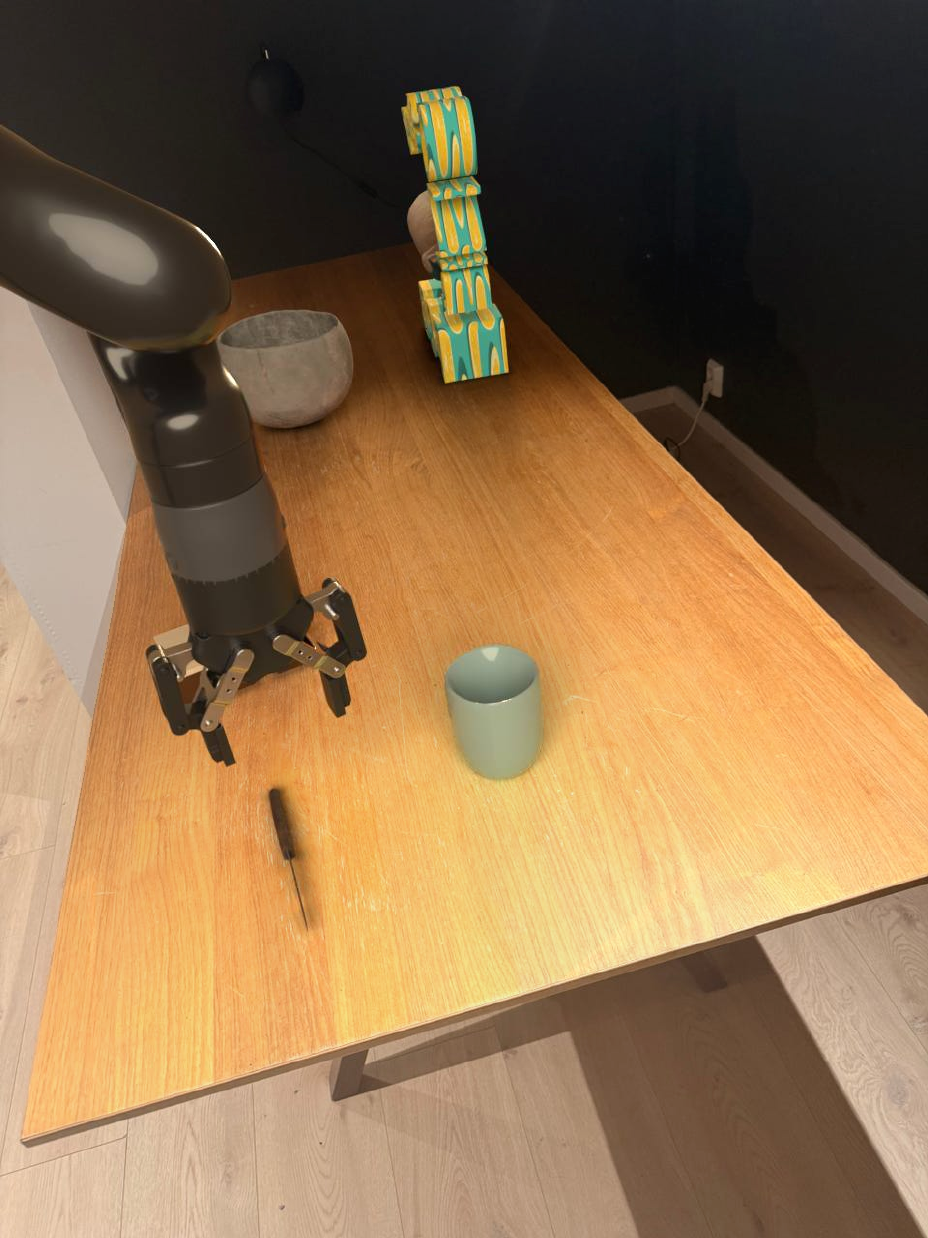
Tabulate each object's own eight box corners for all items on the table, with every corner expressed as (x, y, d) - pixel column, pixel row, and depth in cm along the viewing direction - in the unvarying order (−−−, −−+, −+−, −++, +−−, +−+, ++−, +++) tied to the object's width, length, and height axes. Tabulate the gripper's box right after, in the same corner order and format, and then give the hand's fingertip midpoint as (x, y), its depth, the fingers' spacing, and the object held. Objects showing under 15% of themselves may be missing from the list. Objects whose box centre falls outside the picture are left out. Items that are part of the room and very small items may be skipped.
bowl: (356, 441, 141) (336, 342, 132) (221, 455, 142) (193, 358, 133) (368, 386, 157) (351, 296, 149) (247, 400, 159) (223, 311, 150)
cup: (498, 808, 79) (486, 719, 73) (441, 761, 84) (425, 675, 79) (565, 759, 83) (558, 671, 77) (506, 718, 88) (496, 632, 82)
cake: (184, 712, 94) (171, 677, 92) (165, 670, 100) (152, 636, 98) (256, 683, 97) (244, 648, 94) (233, 644, 103) (222, 610, 100)
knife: (318, 938, 71) (312, 921, 70) (303, 943, 71) (298, 926, 70) (280, 791, 84) (274, 774, 83) (267, 795, 84) (262, 778, 82)
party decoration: (509, 374, 155) (484, 97, 131) (439, 385, 154) (401, 110, 131) (478, 314, 180) (452, 74, 157) (418, 324, 179) (383, 84, 156)
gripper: (309, 486, 65) (351, 670, 74) (100, 557, 60) (174, 745, 69) (353, 529, 59) (393, 723, 69) (127, 612, 54) (203, 808, 64)
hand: (283, 734), depth 69 cm, fingers open, 8 cm apart
